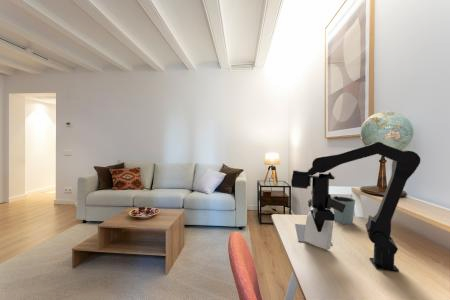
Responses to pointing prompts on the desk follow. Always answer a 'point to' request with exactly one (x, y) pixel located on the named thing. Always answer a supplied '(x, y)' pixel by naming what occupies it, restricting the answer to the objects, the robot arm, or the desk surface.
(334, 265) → the desk surface
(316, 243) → the photo printer
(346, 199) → the grey-blue cup
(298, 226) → the mat
